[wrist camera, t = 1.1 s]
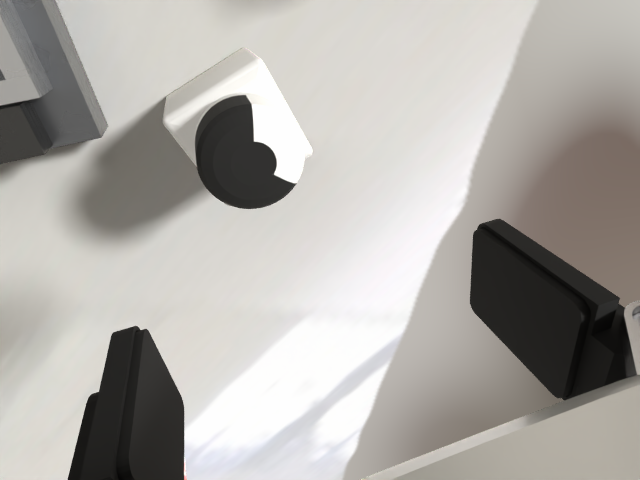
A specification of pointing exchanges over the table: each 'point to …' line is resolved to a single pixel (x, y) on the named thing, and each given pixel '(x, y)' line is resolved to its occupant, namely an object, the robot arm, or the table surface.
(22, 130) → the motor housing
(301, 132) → the medicine bottle
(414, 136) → the table surface
